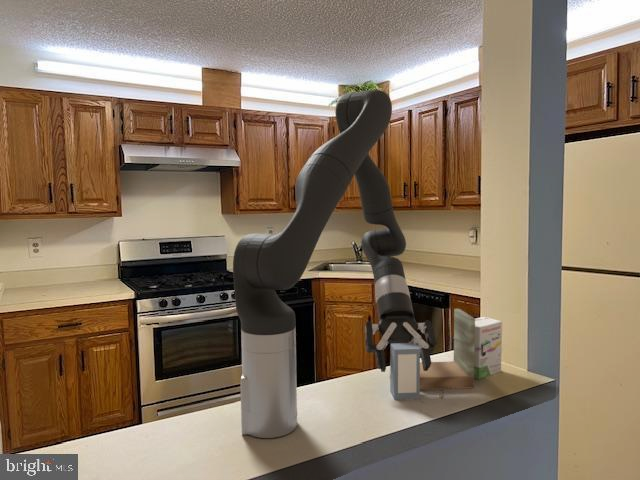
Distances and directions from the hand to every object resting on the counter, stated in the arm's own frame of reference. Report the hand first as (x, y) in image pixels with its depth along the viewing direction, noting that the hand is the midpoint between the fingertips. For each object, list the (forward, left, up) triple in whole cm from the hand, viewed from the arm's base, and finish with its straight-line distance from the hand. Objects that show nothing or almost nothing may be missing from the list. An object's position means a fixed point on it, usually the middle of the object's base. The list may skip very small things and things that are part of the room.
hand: (405, 369), depth 92 cm
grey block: (0, 0, -5) cm, 5 cm away
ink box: (+20, +11, -6) cm, 24 cm away
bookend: (+9, +7, -5) cm, 13 cm away
